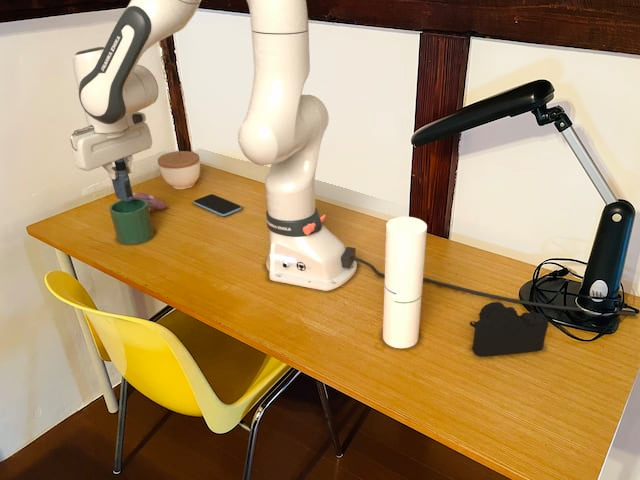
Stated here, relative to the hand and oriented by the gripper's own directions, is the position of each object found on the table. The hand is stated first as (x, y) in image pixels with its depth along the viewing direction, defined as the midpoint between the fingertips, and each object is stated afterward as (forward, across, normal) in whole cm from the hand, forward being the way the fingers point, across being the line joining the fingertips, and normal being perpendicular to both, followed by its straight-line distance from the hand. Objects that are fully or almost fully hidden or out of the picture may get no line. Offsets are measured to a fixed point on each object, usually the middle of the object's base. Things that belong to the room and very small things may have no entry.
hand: (121, 175), depth 133 cm
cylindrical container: (+17, -3, -80) cm, 82 cm away
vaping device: (+7, 0, +1) cm, 7 cm away
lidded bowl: (+17, +32, +15) cm, 39 cm away
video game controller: (+17, +13, +10) cm, 24 cm away
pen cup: (+17, 0, 0) cm, 17 cm away
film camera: (+17, +6, -98) cm, 100 cm away
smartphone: (+17, +25, -6) cm, 31 cm away
